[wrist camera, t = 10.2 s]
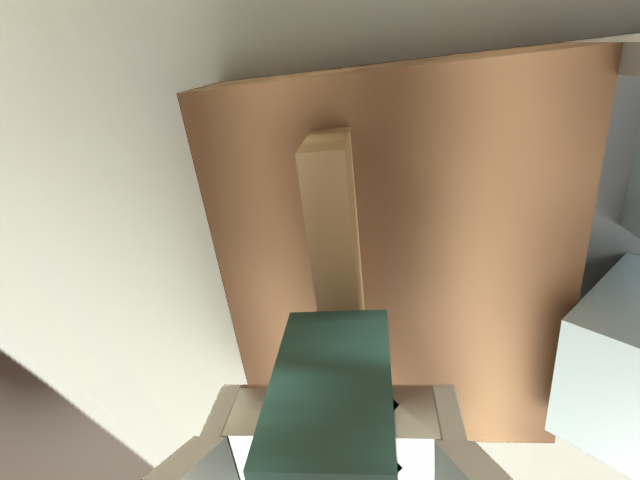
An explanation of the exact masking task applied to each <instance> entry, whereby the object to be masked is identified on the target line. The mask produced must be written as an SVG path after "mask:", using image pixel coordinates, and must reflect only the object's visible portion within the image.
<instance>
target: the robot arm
mask: <svg viewBox="0 0 640 480" xmlns="http://www.w3.org/2000/svg"><path fill="white" fill-rule="evenodd" d="M267 388H268V385H224V386H223V387H222V388H221V389H220V391H219V393H218V396H217V398H216V400H215V402H214V405H213V407H212V409H211V411H210V414H209V416H208V418H207V420H206V423H205V425H204V427H203V429H202V432H201V434H200V436H194V437H192V438H191V439H190V440H189V441H188V442H186V443H185V444H184V445H183V446H181V447H180V448H179V449H178V450H177V451H175V452H174V453H173V454H172V455H170V456H169V457H168V458H167V459H166V460H164V461H163V462H162V463H161V464H159V465H158V466H157V467H156V468H155V469H153V470H152V471H151V472H150V473H149V474H147V475H146V476H145V477H144V478H143V479H141V480H245V478H244V474H243V469H244V465H245V462H246V459H247V455H248V452H249V449H250V445H251V442H252V439H253V435H254V432H255V428H256V425H257V422H258V418H259V415H260V412H261V408H262V405H263V401H264V398H265V395H266V391H267ZM392 393H393V408H394V424H395V440H396V456H397V471H398V480H513V479H512V478H511V477H510V476H509V475H508V474H507V473H506V472H505V471H504V470H503V469H502V468H501V467H500V466H499V465H498V464H497V463H496V462H495V461H494V460H493V459H492V458H491V457H490V456H489V455H488V454H487V453H486V452H485V451H484V450H483V449H482V448H481V447H480V446H479V445H478V444H477V443H476V442H475V441H468V440H467V436H466V432H465V427H464V423H463V419H462V415H461V411H460V407H459V402H458V398H457V394H456V390H455V387H454V385H453V384H432V385H431V384H422V385H392Z"/></svg>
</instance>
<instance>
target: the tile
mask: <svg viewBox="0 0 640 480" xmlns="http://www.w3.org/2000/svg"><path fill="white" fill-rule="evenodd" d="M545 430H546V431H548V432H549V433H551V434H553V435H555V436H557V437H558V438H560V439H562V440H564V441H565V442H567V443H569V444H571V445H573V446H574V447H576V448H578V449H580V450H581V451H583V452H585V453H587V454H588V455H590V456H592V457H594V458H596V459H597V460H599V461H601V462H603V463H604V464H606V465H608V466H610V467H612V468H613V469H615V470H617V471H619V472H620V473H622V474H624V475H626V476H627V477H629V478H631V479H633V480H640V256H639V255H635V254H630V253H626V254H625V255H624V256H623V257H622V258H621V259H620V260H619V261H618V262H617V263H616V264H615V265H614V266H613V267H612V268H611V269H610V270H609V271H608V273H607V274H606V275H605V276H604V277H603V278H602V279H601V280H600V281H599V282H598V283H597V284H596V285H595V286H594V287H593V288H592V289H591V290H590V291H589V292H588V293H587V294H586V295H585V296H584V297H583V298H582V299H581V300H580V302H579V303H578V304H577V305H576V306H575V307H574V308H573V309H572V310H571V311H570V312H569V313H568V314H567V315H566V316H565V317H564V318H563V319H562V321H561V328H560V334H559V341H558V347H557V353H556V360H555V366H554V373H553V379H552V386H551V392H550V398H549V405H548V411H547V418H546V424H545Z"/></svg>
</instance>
